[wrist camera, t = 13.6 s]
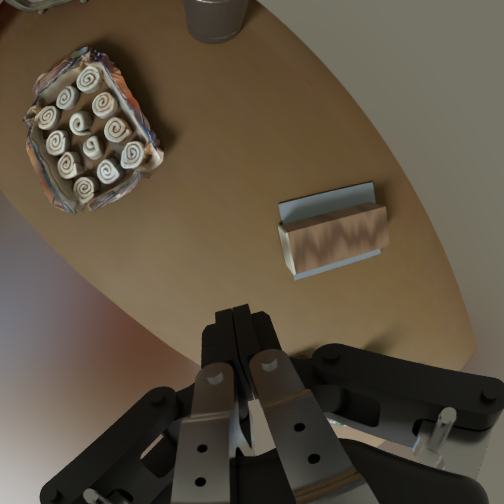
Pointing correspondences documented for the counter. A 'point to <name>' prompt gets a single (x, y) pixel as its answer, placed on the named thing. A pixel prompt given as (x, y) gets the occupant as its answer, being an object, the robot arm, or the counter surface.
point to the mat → (325, 205)
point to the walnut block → (334, 236)
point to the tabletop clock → (37, 4)
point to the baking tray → (116, 130)
